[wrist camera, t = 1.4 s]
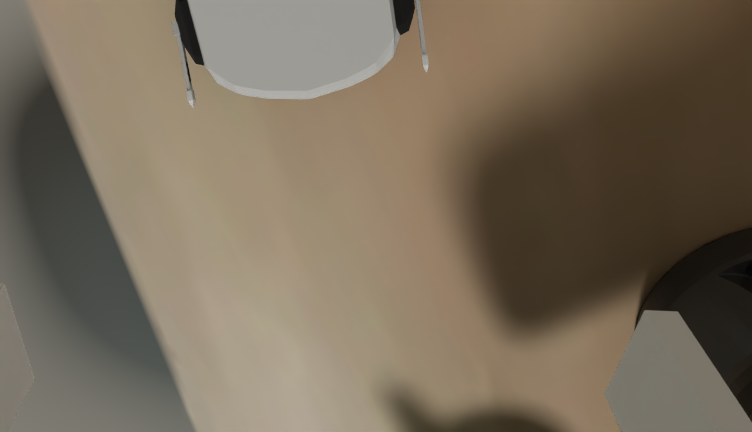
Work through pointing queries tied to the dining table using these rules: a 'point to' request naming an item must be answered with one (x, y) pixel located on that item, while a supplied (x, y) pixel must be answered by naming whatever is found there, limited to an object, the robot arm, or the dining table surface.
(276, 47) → the robot toy
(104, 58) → the dining table surface
